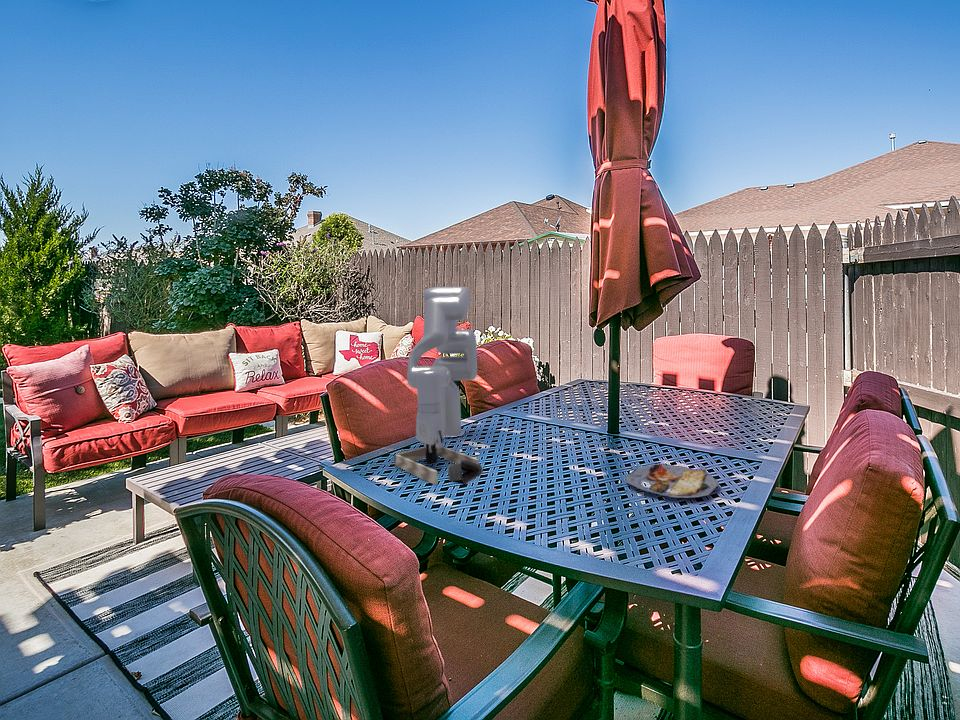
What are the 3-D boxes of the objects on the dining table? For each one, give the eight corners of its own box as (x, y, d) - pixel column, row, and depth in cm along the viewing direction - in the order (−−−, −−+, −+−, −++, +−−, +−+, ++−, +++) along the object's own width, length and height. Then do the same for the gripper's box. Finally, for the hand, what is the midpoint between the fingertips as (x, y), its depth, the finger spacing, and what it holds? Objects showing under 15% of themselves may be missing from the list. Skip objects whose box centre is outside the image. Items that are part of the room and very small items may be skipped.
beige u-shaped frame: (394, 466, 167) (394, 454, 167) (437, 455, 178) (436, 444, 178) (435, 484, 150) (434, 471, 149) (479, 471, 161) (478, 459, 160)
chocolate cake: (465, 470, 163) (444, 451, 156) (484, 467, 160) (463, 448, 153) (460, 498, 157) (437, 479, 150) (479, 495, 154) (457, 476, 147)
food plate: (648, 465, 163) (648, 454, 162) (726, 481, 148) (727, 470, 147) (614, 491, 143) (614, 479, 143) (701, 513, 129) (701, 499, 128)
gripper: (407, 406, 167) (409, 460, 169) (433, 413, 155) (435, 471, 158) (426, 402, 172) (428, 455, 174) (452, 409, 160) (454, 466, 162)
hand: (431, 462), depth 166 cm, fingers closed
